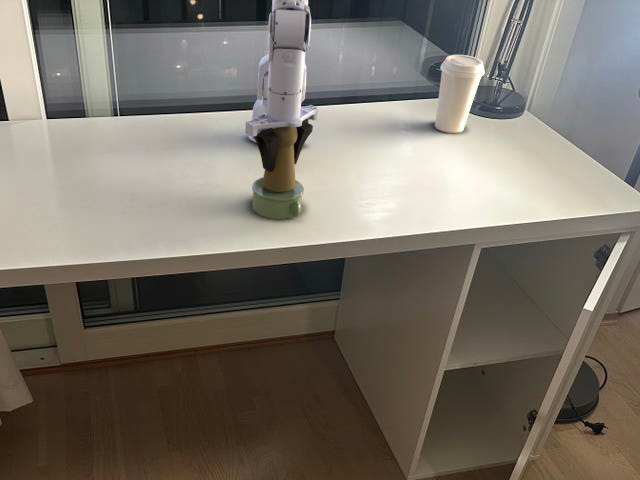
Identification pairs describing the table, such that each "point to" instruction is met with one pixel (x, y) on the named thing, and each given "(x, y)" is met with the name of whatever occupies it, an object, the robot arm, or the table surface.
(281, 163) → the brown pawn
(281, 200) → the upturned mug
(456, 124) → the coffee cup
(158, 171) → the table surface
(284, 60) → the robot arm
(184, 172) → the table surface
